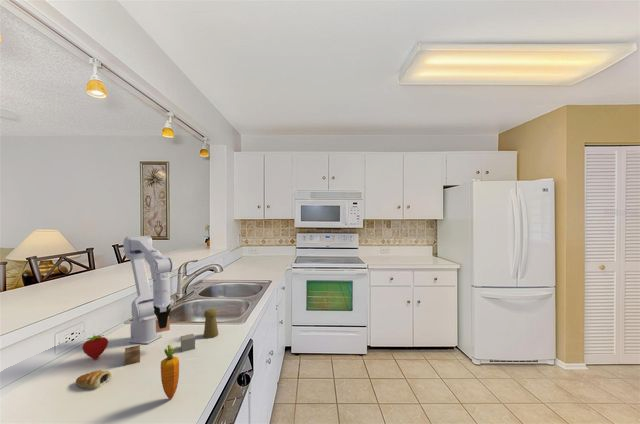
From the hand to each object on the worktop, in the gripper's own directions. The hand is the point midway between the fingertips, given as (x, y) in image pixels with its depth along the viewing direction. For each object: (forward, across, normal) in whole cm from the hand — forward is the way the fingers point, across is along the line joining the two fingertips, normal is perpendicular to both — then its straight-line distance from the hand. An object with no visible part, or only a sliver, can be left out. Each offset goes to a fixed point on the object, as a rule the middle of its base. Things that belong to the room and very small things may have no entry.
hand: (162, 325), depth 113 cm
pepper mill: (+10, +4, -18) cm, 21 cm away
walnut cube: (+10, -4, +10) cm, 14 cm away
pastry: (+10, -13, +20) cm, 26 cm away
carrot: (+10, -35, 0) cm, 37 cm away
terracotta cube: (+2, 0, 0) cm, 2 cm away
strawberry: (+10, +6, +21) cm, 24 cm away
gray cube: (+10, -4, -8) cm, 13 cm away
